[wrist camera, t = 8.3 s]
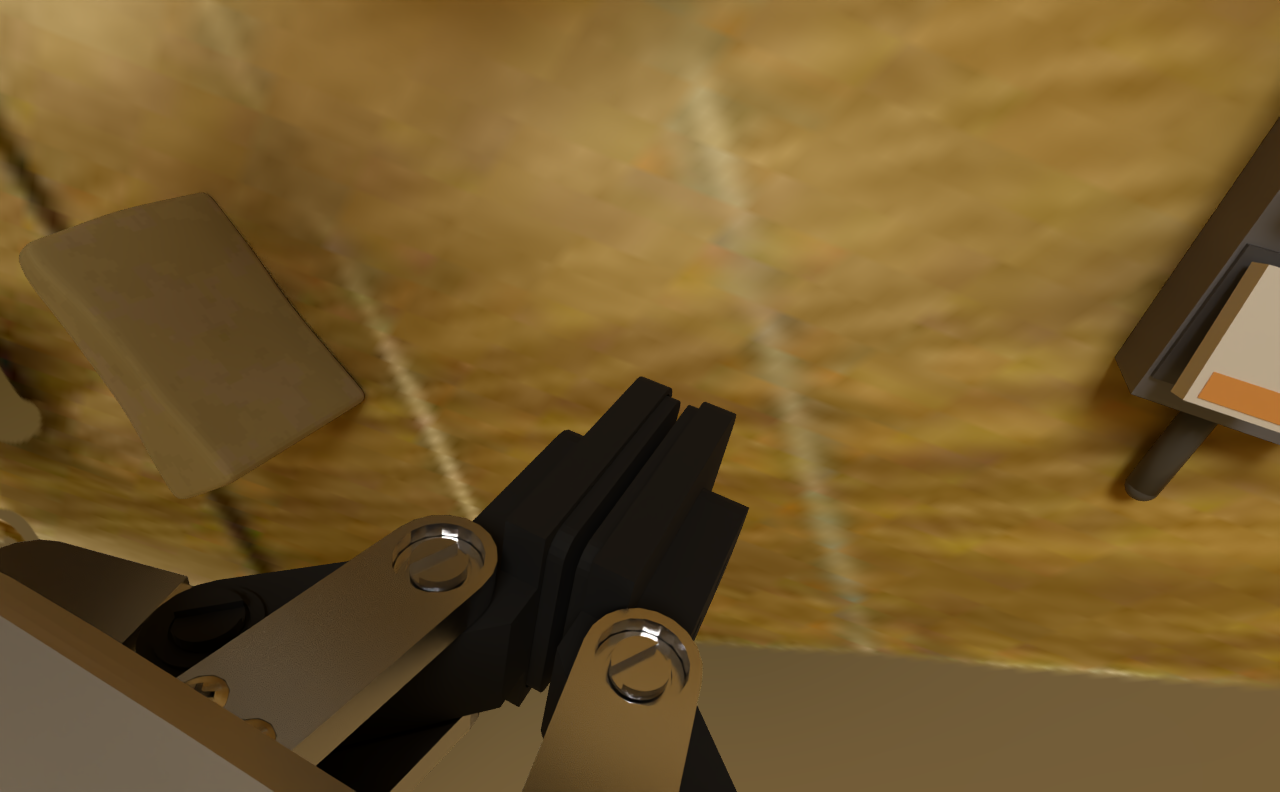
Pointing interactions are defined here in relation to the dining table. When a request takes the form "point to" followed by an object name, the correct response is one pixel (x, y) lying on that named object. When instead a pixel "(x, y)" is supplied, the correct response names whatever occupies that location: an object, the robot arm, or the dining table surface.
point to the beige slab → (190, 338)
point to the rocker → (1241, 354)
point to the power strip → (1201, 316)
